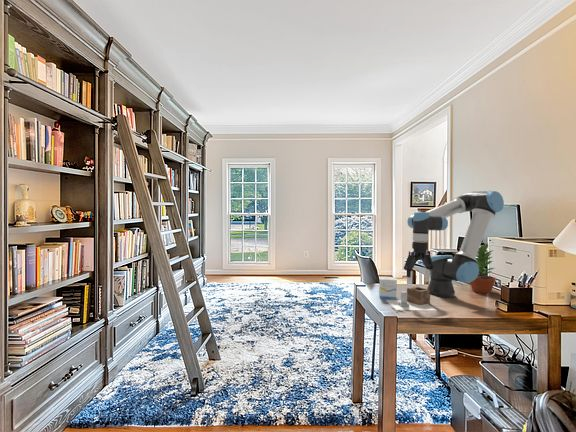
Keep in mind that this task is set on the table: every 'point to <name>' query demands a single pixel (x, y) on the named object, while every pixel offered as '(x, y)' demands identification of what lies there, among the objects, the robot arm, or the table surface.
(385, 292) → the ink box
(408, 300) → the wooden cubby shelf
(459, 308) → the table surface
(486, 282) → the potted plant
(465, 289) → the table surface
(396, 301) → the hub board
